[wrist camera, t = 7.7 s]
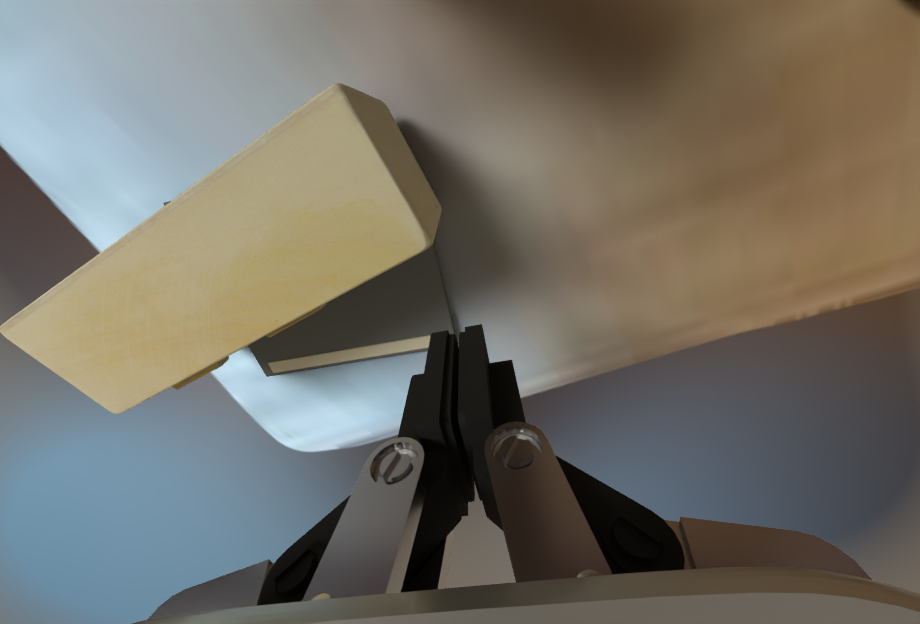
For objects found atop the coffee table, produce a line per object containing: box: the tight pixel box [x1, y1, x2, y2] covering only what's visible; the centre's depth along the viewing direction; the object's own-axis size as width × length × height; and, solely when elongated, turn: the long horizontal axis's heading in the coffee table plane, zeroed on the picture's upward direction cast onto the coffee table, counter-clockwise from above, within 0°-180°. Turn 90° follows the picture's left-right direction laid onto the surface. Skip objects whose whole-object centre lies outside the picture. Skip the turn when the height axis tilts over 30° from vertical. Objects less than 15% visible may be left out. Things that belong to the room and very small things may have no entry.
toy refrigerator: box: [0, 83, 442, 414], centre depth 18 cm, size 8×7×21 cm
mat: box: [163, 146, 457, 377], centre depth 23 cm, size 16×14×1 cm
